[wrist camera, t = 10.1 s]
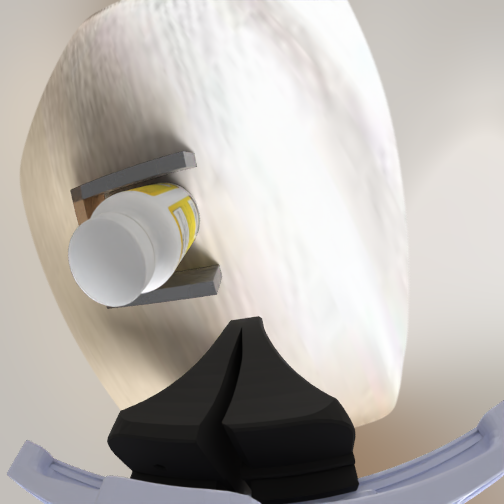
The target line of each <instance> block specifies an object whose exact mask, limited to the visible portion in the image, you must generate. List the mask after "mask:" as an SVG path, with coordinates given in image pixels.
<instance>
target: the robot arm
mask: <svg viewBox="0 0 504 504" xmlns="http://www.w3.org/2000/svg"><path fill="white" fill-rule="evenodd" d="M354 441H355V429H354V426H353V424H352V422H351V420H350V418H349V416H348V414H347V413H346V411H345V410H344V408H343V407H342V405H341V404H340V403H339V401H338V400H337V399H336V398H334V397H332V396H330V395H328V394H326V393H324V392H323V391H321V390H319V389H318V388H316V387H315V386H313V385H312V384H310V383H309V382H308V381H306V380H305V379H304V378H303V377H302V376H300V375H299V374H298V373H297V372H295V371H294V370H293V369H292V368H291V367H290V366H289V365H288V364H287V362H286V361H285V360H284V359H283V358H282V357H281V355H280V354H279V353H278V352H277V350H276V349H275V347H274V346H273V344H272V343H271V341H270V339H269V338H268V336H267V334H266V332H265V330H264V326H263V321H262V318H261V317H259V316H258V317H251V318H245V319H238V320H231V321H230V322H229V323H228V325H227V326H226V328H225V329H224V330H223V332H222V333H221V335H220V336H219V337H218V339H217V340H216V341H215V343H214V344H213V345H212V346H211V348H210V349H209V350H208V351H207V353H206V354H205V355H204V356H203V357H202V358H201V359H200V360H199V361H198V362H197V363H196V364H195V365H194V366H193V367H192V368H191V369H190V370H189V371H188V372H187V373H186V374H184V375H183V376H182V377H181V378H179V379H178V380H177V381H175V382H174V383H173V384H171V385H170V386H168V387H167V388H166V389H164V390H162V391H161V392H159V393H157V394H156V395H154V396H152V397H150V398H149V399H147V400H145V401H143V402H140V403H138V404H136V405H134V406H131V407H129V408H127V409H124V410H121V411H120V413H119V415H118V417H117V419H116V421H115V423H114V425H113V428H112V430H111V432H110V434H109V436H108V440H107V442H108V445H109V447H110V449H111V450H112V451H113V452H114V454H115V455H116V456H117V457H118V458H119V459H120V460H121V461H122V462H123V463H124V464H126V465H127V466H128V467H129V468H130V469H131V470H132V475H131V477H130V478H126V477H120V476H113V475H110V476H106V477H104V476H101V475H97V474H94V473H91V472H88V471H85V470H82V469H79V468H77V467H74V466H71V465H68V464H66V463H64V462H61V461H59V460H57V459H54V458H53V456H52V455H51V454H50V453H49V452H48V451H46V450H45V449H44V448H43V447H41V446H39V445H37V444H35V443H33V442H31V441H29V440H26V442H25V443H24V445H23V446H22V448H21V450H20V451H19V453H18V455H17V457H16V458H15V460H14V462H13V463H12V465H11V467H10V469H9V470H8V472H7V475H8V476H9V477H10V478H11V479H13V480H14V481H15V482H16V483H17V484H18V485H20V486H21V487H22V488H24V489H25V490H26V491H27V492H29V493H30V494H32V495H33V496H34V497H36V498H37V499H38V500H40V501H41V502H43V503H44V504H464V503H465V502H467V501H468V500H470V499H472V498H473V497H475V496H476V495H478V494H479V493H480V492H482V491H483V490H485V489H486V488H488V487H489V486H490V485H492V484H493V483H494V482H496V481H497V480H498V479H499V478H501V477H502V476H503V475H504V400H503V401H501V402H500V403H499V404H497V405H496V406H494V407H493V408H491V409H490V410H489V411H488V412H487V413H486V414H485V415H484V416H483V417H482V418H481V420H480V421H479V423H478V425H477V427H476V428H474V429H472V430H471V431H469V432H467V433H466V434H464V435H462V436H460V437H459V438H457V439H455V440H453V441H451V442H450V443H448V444H446V445H444V446H442V447H440V448H438V449H436V450H434V451H431V452H429V453H427V454H425V455H423V456H421V457H418V458H416V459H414V460H411V461H408V462H406V463H403V464H401V465H398V466H396V467H393V468H390V469H387V470H384V471H381V472H378V473H375V474H372V475H368V476H365V477H362V478H357V473H356V469H355V465H354V464H355V458H354V455H353V447H354Z"/></svg>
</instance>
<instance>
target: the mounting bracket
mask: <svg viewBox="0 0 504 504" xmlns="http://www.w3.org/2000/svg"><path fill="white" fill-rule="evenodd" d="M194 167H197V164H196V160H195V155H194V153H190V152H185V151H182V152H178V153H174V154H171V155H167V156H164V157H161V158H157V159H154V160H151V161H147V162H144V163H141V164H138V165H135V166H132V167H129V168H126V169H123V170H120V171H117V172H115V173H112V174H109V175H106V176H104V177H101V178H99V179H96V180H93V181H91V182H88V183H86V184H83V185H81V186H79V187H76V188H74V189H71V195H72V200H73V204H74V208H75V212H76V216H77V220H78V224H79V226H80V225H81V224H82V223H83V222H85V221H86V220H89V219H90V218H91V216H92V214H93V212H94V211H95V209H96V208H97V207H98V205H99V204H100V203H102V202H103V201H104V200H105V197H104V194H105V193H108V192H111V191H114V190H117V189H120V188H123V187H127V186H130V185H133V184H136V183H139V182H143V181H146V180H149V179H153V178H156V177H160V176H163V175H167V174H171V173H174V172H178V171H182V170H186V169H190V168H194ZM221 279H222V274H221V270H220V266H219V265H215V266H209V267H203V268H197V269H191V270H186V271H180V272H174V273H173V274H172V275H171V276H170V278H169V279H168V280H167V281H166V282H165V283H164V284H163V285H161V286H160V287H158V288H157V289H155V290H153V291H150V292H146V293H141V294H140V295H139V296H138V297H137V298H136V299H135V300H134V301H132V302H131V303H129V304H127V305H124V306H119V307H127V306H136V305H144V304H152V303H160V302H167V301H175V300H182V299H189V298H196V297H203V296H210V295H216V294H217V292H218V289H219V286H220V282H221ZM109 308H118V307H111V306H107V309H109Z"/></svg>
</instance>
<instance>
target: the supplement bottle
mask: <svg viewBox="0 0 504 504" xmlns="http://www.w3.org/2000/svg"><path fill="white" fill-rule="evenodd" d="M199 226H200V213H199V209H198V206H197V203H196V202H195V200H194V198H193V197H192V196H191V194H190V193H189V192H188V191H186V190H185V189H184V188H182V187H180V186H178V185H176V184H172V183H156V184H151V185H147V186H143V187H139V188H135V189H131V190H127V191H123V192H120V193H117V194H114V195H112V196H110V197H108V198H107V199H105V200H104V201H103V202H102V203H100V204H99V205H98V207H97V208H96V209H95V211H94V212H93V214H92V216H91V218H90V219H89V220H86V221H85V222H83V223H82V224H81V225H80V226H79V227H78V228H77V229H76V230H75V232H74V233H73V235H72V237H71V240H70V243H69V249H68V259H69V265H70V269H71V272H72V275H73V277H74V279H75V281H76V282H77V284H78V285H79V287H80V288H81V289H82V291H83V292H84V293H85V294H86V295H87V296H89V297H90V298H91V299H93V300H94V301H96V302H98V303H100V304H103V305H106V306H111V307H119V306H124V305H127V304H129V303H131V302H132V301H134V300H135V299H136V298H137V297H138V296H139V295H140V294H141V293H146V292H150V291H153V290H155V289H157V288H158V287H160V286H161V285H163V284H164V283H165V282H166V281H167V280H168V279H169V278H170V276H171V275H172V274H173V273H174V271H175V269H176V268H177V266H178V265H179V263H180V261H181V260H182V258H183V257H184V255H185V254H186V252H187V251H188V249H189V248H190V246H191V244H192V243H193V241H194V240H195V238H196V236H197V233H198V230H199Z"/></svg>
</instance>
